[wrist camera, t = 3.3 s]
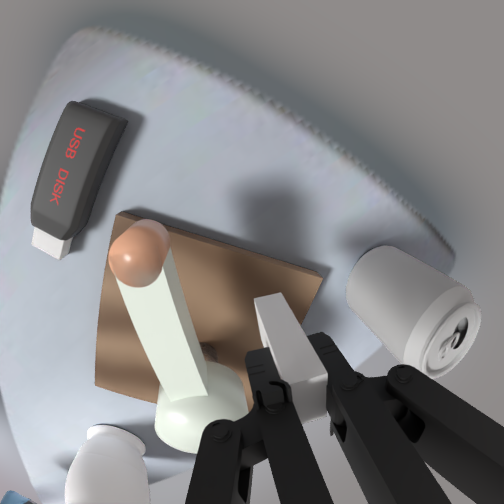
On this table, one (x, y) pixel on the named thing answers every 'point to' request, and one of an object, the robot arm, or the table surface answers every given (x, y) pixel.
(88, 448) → the jar
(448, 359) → the can
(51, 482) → the table surface
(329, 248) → the table surface
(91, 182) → the usb drive
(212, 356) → the stud
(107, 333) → the base plate
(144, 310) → the tan-tipped lever stick
